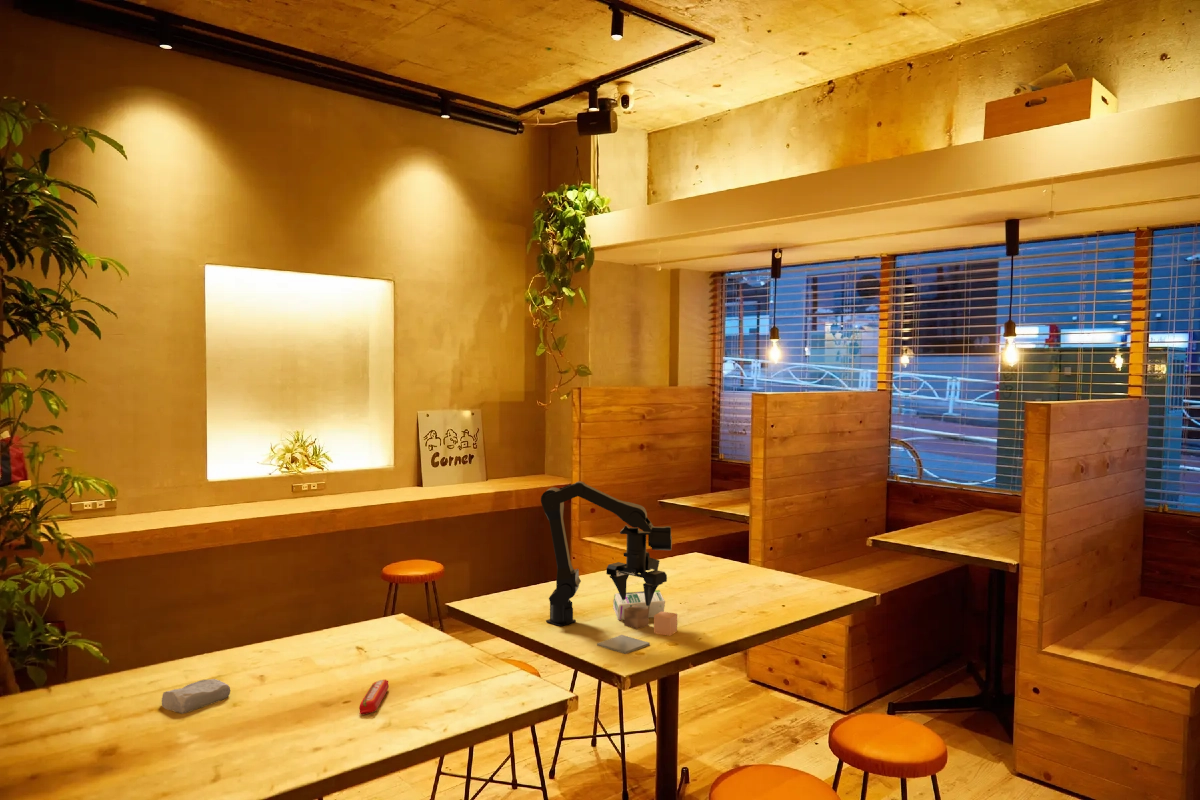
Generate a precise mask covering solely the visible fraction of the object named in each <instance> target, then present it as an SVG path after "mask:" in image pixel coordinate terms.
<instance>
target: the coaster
mask: <svg viewBox="0 0 1200 800" xmlns="http://www.w3.org/2000/svg"><path fill="white" fill-rule="evenodd" d="M596 646H598V647H602V648H605V649H607V650H611V651H613V652H618V653H621V654H623V655H626V654H629V653H632V652H635V651H637V650H640V649H642V648H646V647H648V646H650V642H648V641H645V640H641V639H638V638H635V637H631V636H628V635H624V634H620V635H617V636H614V637H612V638H611V637H610V638H608V639H606V640H603V641H599V642H597V643H596Z"/></svg>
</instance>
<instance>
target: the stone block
mask: <svg viewBox="0 0 1200 800" xmlns="http://www.w3.org/2000/svg"><path fill="white" fill-rule="evenodd" d="M230 694H231V687H230V686H229V684H228V683H226V682H223V681H221V680H220V679H219V680H218V679H216V678H211V679H209V678H208V679H202V680H197V681H195V682H192V683H189V684H186V685H185V686H183V687H181V688H177V689H176V688H174V689H172V690H167V691H164V692H162V695H161V706H162V708H164V709H165V710H168V711H173V712H175V713H178V714H181V715H182V714H186V713H190V712H193V711H196V710H198V709H201V708H203V707H206V706H209V705H211V704H212V705H213V704H215V703H218V702H221V701H223V700H225V699H227V698H228V697H229V695H230Z"/></svg>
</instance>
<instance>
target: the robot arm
mask: <svg viewBox="0 0 1200 800" xmlns="http://www.w3.org/2000/svg"><path fill="white" fill-rule="evenodd" d="M577 497H579V498H581V499H583V500H585V501H588V502H590V503H592V504H594V505H595V506H598V507H600V508H602V509H604V510H607V511H609V512H611V513H613V514H614V515H616V516H617V517H618V518H620V520H621V521H623V522H624V523H626V524H625V525H624V527H623V528H622V529H620V531H619V534H620V535H626V551H625V552H623V557H626V563H624V562H619V561H618V562H614V563H613V562H612V563H610V564H608V565H607V567H606V573H605V574H606V575H608V576H609V578H610V579H611V580H612V582H613V584H614V585H615V587H616V589H617V591H618V593H619V594H620V596H621V598H622V600H625V599H626V593H627V580H628V578H629V576H633V577H637V578H642V579H643V581H644V583H643V584H642V586H643V591H644V595H645V602H646V606H649V605H650V603H651V600H652V598H653V595H654V592H655V590H657V588H658V587H659V585H663V584H664V583H666V582H667V581H668V576H667V575H668V574H667V573H666V571H662V570H659V564H660V559H656V558H653V557H650V552H649V551H647V546H648V547H649V548H651V550H652V551H672V546H673V544H672V543H673V536H672V527H671V526H654V524H653V522H651V520H650V519H649V518H648V513H647V510H646V508H645V507H644V506H643V505H641V504H637V503H634V502H631V501H630V502H629V501H625V500H621V499H618V498H616V497H614V496H612V495H609V494H608V493H605V492H603V491H601V490H599V489H597V488H595V487H593V486H590V485H588V484H587V483H585V482H584V481H581V480H578V481H576V482H575V483H572V484H569V485H565V486H562V487H560V488H558V487H550V488H548V489H546V491H544V492H543V493H542V494H541V497H540V502H541V506H542V509H543V512H544V514H545V515H546V518H547V520H548V523H549V527H550V533H551V540H552V544H553V551H554V555H555V562H556V569H557V570H556V587H555V589H554V590H553V591H552V593H551V594H550V596H549V597H548V600H549V618H548V619H546V620H545V622H546V623H547V624H552V625H556V626H559V627H564V626H566V625H570V624H574V623H576V622H577V620H576V619H574V608H573V601H571V600H570V599H571V598H573V597H574V596H575V595H576V593H577V591H578V589H579V587H580V584H581V582H582V581H581V579H580V575H579V568H576V569H574V567H573V565H572V562H571V558H570V557H571V555H570V550H569V544H568V540H567V534H566V528H565V522H564V509H565V502H567V501H569V500H572V499H574V498H577ZM647 536H648V537H647Z"/></svg>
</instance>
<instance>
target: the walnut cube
mask: <svg viewBox="0 0 1200 800" xmlns="http://www.w3.org/2000/svg"><path fill="white" fill-rule="evenodd" d="M649 618H650V617H649V609H648V608H644V607H640V606H636V605H635V606H632V607H628V608H625V609H624V621H623V625H624V627H628V628H631V629H636V630H638V629H639V630H640V629H642V628H646V627H648V626H649V620H650V619H649Z"/></svg>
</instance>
